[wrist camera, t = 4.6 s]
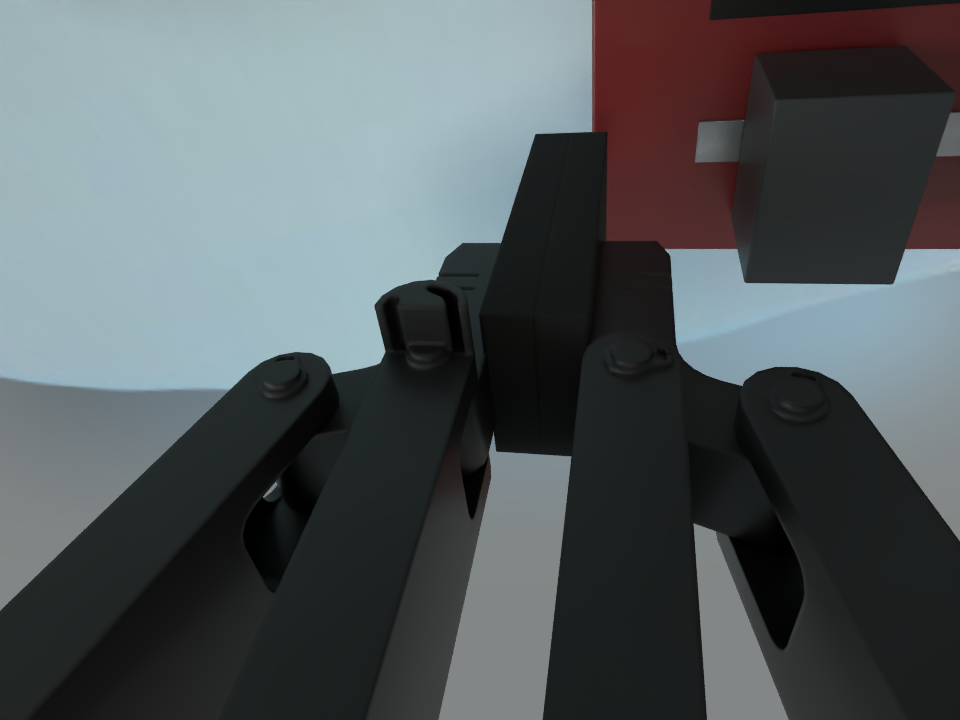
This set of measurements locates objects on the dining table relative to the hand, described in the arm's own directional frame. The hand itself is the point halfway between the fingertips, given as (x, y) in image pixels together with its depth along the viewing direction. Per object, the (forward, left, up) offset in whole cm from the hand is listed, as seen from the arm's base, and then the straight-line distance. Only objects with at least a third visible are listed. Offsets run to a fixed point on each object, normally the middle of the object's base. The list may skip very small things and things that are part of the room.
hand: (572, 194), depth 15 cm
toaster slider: (-5, 0, -3) cm, 6 cm away
